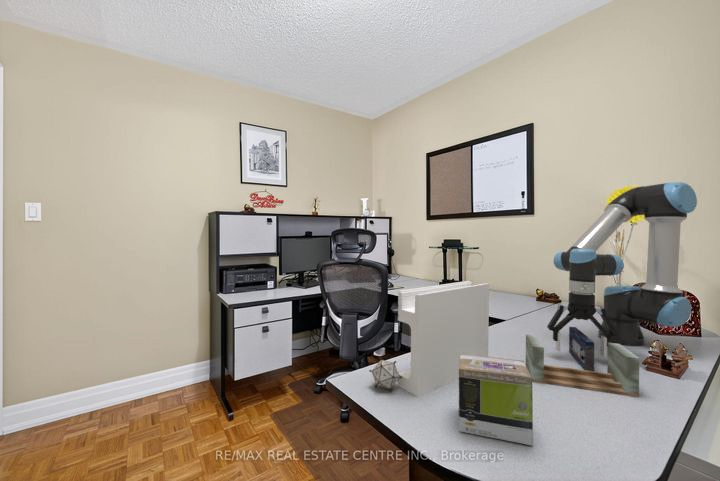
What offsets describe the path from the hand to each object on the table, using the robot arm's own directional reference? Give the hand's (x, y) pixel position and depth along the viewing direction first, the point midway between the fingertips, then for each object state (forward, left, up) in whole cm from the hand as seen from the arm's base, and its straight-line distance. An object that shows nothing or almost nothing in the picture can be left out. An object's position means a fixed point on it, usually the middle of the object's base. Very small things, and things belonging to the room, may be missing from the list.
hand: (580, 352), depth 109 cm
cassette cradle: (+6, +17, -3) cm, 18 cm away
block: (+44, +27, -3) cm, 52 cm away
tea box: (+32, +51, -3) cm, 60 cm away
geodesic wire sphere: (+60, +42, -3) cm, 73 cm away
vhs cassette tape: (0, 0, -3) cm, 3 cm away
